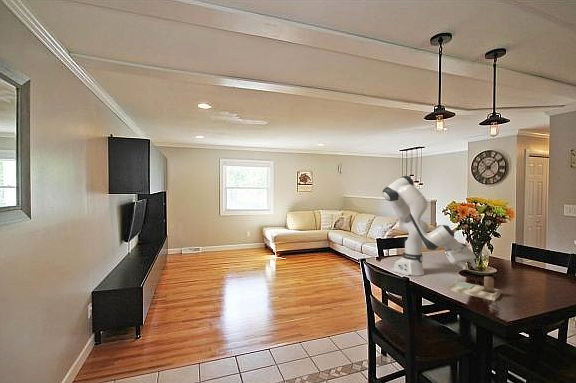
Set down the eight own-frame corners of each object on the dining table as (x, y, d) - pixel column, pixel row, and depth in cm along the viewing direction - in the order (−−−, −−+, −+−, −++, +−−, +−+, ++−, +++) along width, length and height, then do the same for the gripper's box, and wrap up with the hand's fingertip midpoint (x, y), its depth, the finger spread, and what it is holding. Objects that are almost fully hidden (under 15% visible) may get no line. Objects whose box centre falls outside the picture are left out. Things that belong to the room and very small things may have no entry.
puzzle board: (449, 290, 165) (449, 285, 165) (457, 284, 174) (457, 280, 174) (494, 300, 148) (494, 296, 148) (500, 294, 158) (500, 289, 158)
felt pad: (454, 285, 165) (454, 284, 165) (459, 282, 171) (459, 281, 171) (470, 289, 159) (470, 288, 159) (474, 285, 165) (474, 284, 165)
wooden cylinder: (483, 295, 156) (483, 277, 156) (485, 293, 159) (485, 276, 159) (492, 297, 153) (492, 279, 153) (494, 295, 156) (494, 277, 156)
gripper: (446, 247, 166) (463, 267, 158) (467, 243, 175) (484, 263, 166) (439, 253, 170) (455, 273, 162) (460, 249, 179) (476, 268, 170)
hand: (470, 268), depth 164 cm, fingers open, 8 cm apart
